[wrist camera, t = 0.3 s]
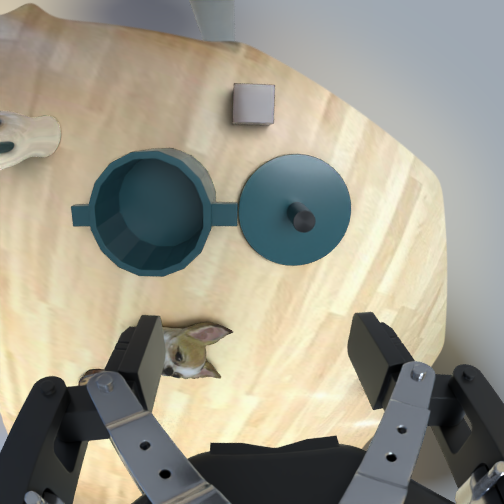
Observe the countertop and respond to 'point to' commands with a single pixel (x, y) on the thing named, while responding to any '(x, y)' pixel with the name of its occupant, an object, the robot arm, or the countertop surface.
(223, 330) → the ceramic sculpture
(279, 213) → the lid
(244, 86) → the block
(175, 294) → the countertop surface
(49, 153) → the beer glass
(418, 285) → the countertop surface
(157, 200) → the pot
